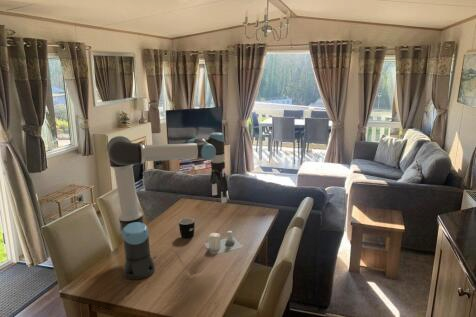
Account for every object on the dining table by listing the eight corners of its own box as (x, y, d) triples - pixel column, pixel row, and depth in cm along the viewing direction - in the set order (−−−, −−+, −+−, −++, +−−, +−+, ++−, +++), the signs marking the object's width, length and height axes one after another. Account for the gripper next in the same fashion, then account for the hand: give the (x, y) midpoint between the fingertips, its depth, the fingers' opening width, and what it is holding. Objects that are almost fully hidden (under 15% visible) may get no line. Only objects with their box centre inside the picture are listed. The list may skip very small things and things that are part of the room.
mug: (190, 241, 205) (189, 225, 203) (176, 239, 209) (175, 223, 207) (200, 233, 216) (199, 217, 214) (187, 230, 220) (186, 215, 217)
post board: (212, 256, 188) (211, 242, 186) (203, 245, 201) (203, 231, 199) (243, 249, 196) (243, 235, 194) (233, 238, 208) (232, 225, 206)
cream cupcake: (211, 250, 192) (211, 238, 190) (207, 246, 197) (207, 234, 196) (222, 248, 194) (221, 236, 193) (218, 243, 200) (217, 232, 198)
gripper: (233, 165, 185) (234, 204, 190) (215, 155, 207) (217, 191, 212) (220, 167, 182) (221, 207, 187) (203, 157, 204) (205, 193, 209)
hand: (219, 198), depth 199 cm, fingers open, 13 cm apart
